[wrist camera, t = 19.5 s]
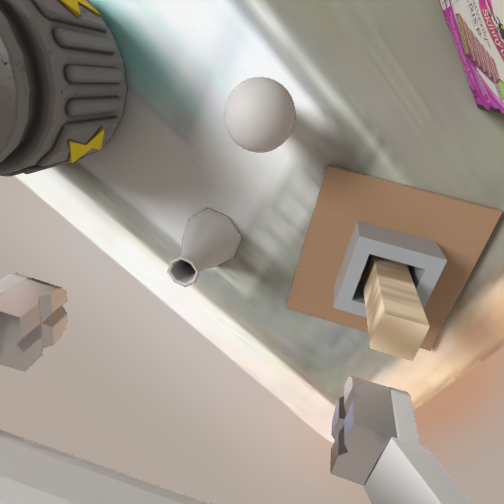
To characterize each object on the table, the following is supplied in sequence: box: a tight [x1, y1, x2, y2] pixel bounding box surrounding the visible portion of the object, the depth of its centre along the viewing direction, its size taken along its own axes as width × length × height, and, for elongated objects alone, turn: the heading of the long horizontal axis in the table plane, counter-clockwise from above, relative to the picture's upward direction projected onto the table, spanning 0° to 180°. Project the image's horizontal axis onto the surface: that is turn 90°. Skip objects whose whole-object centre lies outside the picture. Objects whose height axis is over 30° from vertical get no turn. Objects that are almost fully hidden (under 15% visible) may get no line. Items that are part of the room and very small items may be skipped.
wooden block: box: [362, 254, 430, 361], centre depth 37 cm, size 4×4×14 cm
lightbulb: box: [224, 77, 295, 152], centre depth 36 cm, size 6×6×11 cm
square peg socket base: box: [286, 165, 502, 351], centre depth 42 cm, size 18×18×6 cm
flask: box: [167, 208, 242, 287], centre depth 43 cm, size 7×7×10 cm
